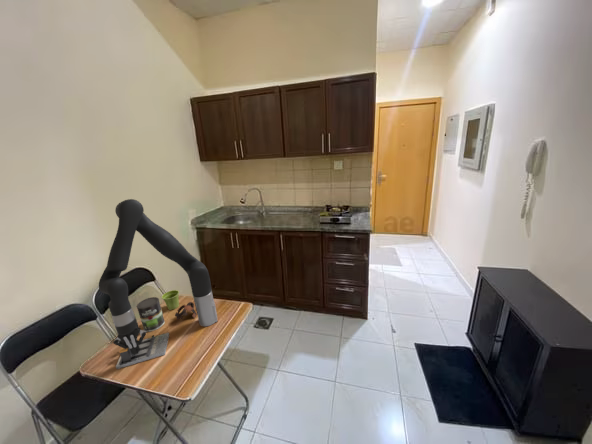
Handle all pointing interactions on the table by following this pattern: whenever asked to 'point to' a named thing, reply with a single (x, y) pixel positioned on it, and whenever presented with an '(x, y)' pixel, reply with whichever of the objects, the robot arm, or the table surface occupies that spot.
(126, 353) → the breaker
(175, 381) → the table surface
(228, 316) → the table surface
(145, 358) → the breaker panel
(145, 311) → the coffee can
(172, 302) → the plant pot
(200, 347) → the table surface
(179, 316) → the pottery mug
